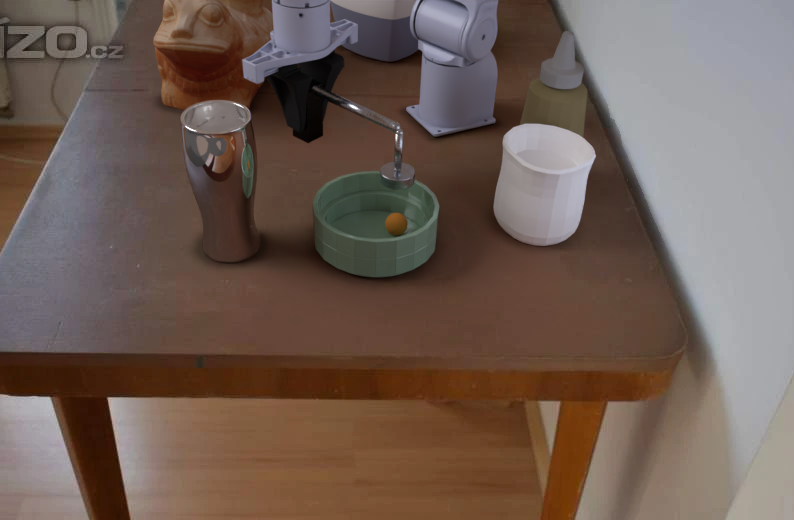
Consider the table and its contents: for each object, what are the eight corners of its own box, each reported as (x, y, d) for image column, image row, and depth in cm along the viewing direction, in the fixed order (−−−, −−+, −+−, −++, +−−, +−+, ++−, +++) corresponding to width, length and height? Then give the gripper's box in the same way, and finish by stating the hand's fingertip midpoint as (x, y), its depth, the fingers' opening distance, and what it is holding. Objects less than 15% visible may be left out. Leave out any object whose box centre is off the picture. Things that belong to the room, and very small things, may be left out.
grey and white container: (311, 47, 126) (309, -30, 118) (372, 16, 135) (373, -57, 128) (395, 76, 120) (398, -3, 112) (452, 42, 129) (459, -33, 122)
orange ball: (400, 224, 92) (401, 206, 90) (410, 236, 90) (412, 217, 89) (381, 230, 91) (381, 211, 89) (391, 241, 89) (391, 223, 88)
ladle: (421, 180, 87) (425, 124, 82) (399, 194, 85) (401, 137, 80) (312, 126, 94) (310, 72, 90) (288, 137, 92) (285, 83, 88)
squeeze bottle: (536, 155, 105) (561, 12, 93) (589, 182, 101) (622, 35, 89) (494, 178, 101) (514, 30, 88) (548, 207, 97) (576, 56, 84)
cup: (560, 259, 89) (577, 180, 83) (475, 229, 93) (485, 151, 86) (590, 216, 96) (608, 139, 89) (510, 190, 99) (522, 114, 92)
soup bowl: (400, 199, 97) (402, 160, 93) (457, 261, 88) (462, 222, 85) (295, 226, 92) (293, 187, 88) (346, 294, 84) (346, 254, 80)
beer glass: (207, 271, 85) (187, 139, 75) (191, 234, 90) (170, 105, 80) (273, 257, 87) (262, 127, 77) (254, 221, 92) (242, 94, 82)
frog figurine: (136, 122, 107) (114, 4, 97) (204, 40, 126) (191, -66, 116) (242, 135, 106) (230, 16, 96) (293, 49, 125) (288, -57, 115)
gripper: (323, -31, 88) (326, 89, 98) (216, 5, 80) (230, 133, 89) (373, -13, 85) (371, 110, 94) (267, 27, 77) (275, 157, 86)
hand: (305, 123), depth 92 cm, fingers closed on ladle, 2 cm apart
